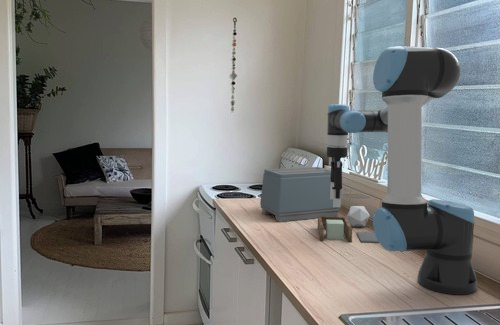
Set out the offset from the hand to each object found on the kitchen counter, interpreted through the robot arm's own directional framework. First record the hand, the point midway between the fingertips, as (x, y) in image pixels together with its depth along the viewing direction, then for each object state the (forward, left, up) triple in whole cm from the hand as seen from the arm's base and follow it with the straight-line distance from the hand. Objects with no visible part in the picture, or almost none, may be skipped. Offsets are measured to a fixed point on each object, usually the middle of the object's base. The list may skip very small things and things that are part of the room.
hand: (335, 203), depth 174 cm
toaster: (+35, +11, -13) cm, 39 cm away
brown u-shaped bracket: (+3, 0, -13) cm, 13 cm away
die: (+18, -11, -13) cm, 25 cm away
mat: (0, -15, -13) cm, 20 cm away
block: (0, 0, -13) cm, 13 cm away
